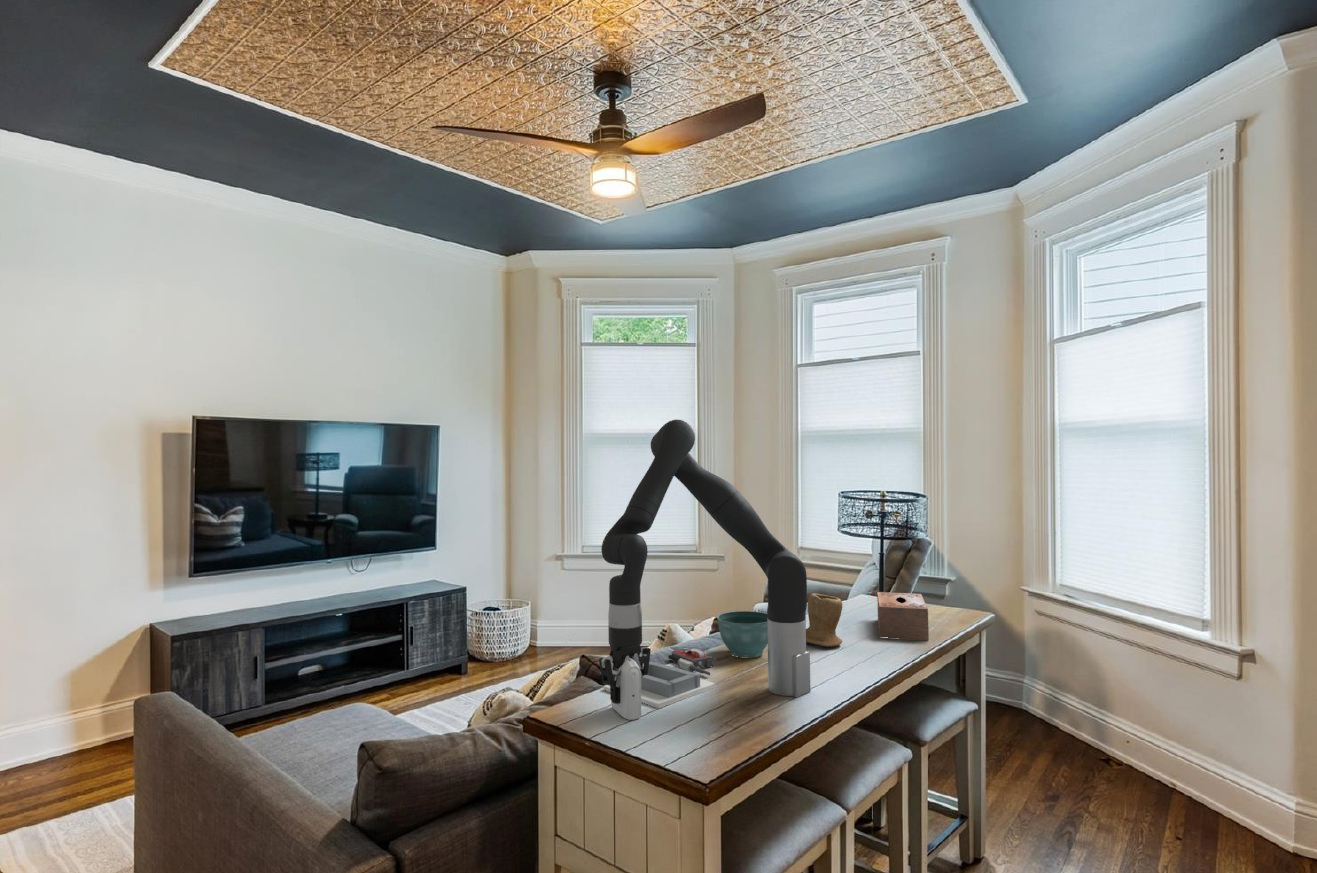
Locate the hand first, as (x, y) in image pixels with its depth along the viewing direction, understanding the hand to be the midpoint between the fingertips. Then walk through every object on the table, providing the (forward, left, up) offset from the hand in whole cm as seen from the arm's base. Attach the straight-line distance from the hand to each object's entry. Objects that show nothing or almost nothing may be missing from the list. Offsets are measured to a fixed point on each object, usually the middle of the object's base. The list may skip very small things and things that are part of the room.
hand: (626, 699), depth 155 cm
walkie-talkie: (+12, -37, -4) cm, 39 cm away
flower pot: (+9, -56, -3) cm, 57 cm away
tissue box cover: (-11, -114, -3) cm, 114 cm away
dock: (+6, -17, -3) cm, 18 cm away
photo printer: (0, 0, -3) cm, 3 cm away
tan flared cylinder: (0, -81, -3) cm, 81 cm away
